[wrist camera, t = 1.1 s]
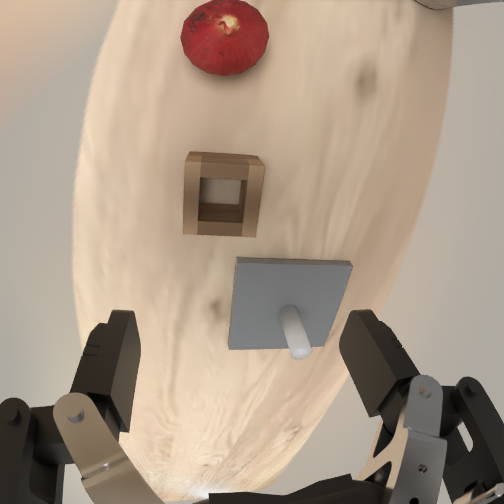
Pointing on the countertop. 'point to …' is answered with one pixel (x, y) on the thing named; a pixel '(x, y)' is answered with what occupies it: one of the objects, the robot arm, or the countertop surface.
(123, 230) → the countertop surface
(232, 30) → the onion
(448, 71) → the countertop surface
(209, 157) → the ring
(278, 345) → the post stand
